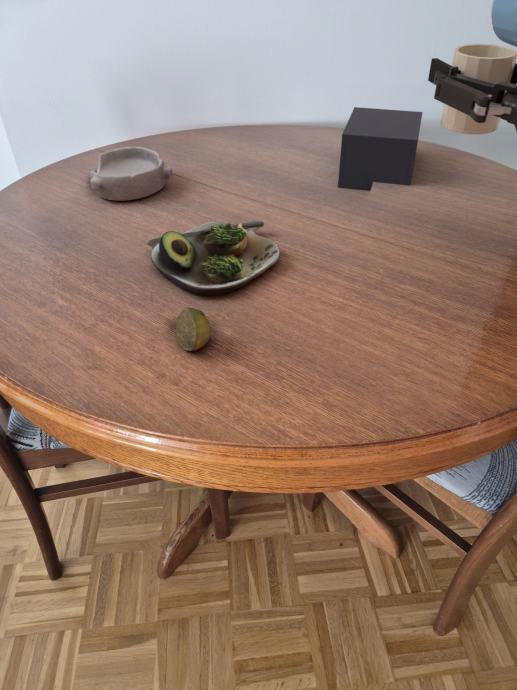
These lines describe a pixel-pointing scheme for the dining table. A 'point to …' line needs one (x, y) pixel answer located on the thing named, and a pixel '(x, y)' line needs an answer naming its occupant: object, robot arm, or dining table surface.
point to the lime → (192, 329)
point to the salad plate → (213, 256)
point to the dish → (129, 173)
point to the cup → (484, 66)
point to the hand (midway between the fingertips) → (460, 67)
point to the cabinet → (378, 147)
